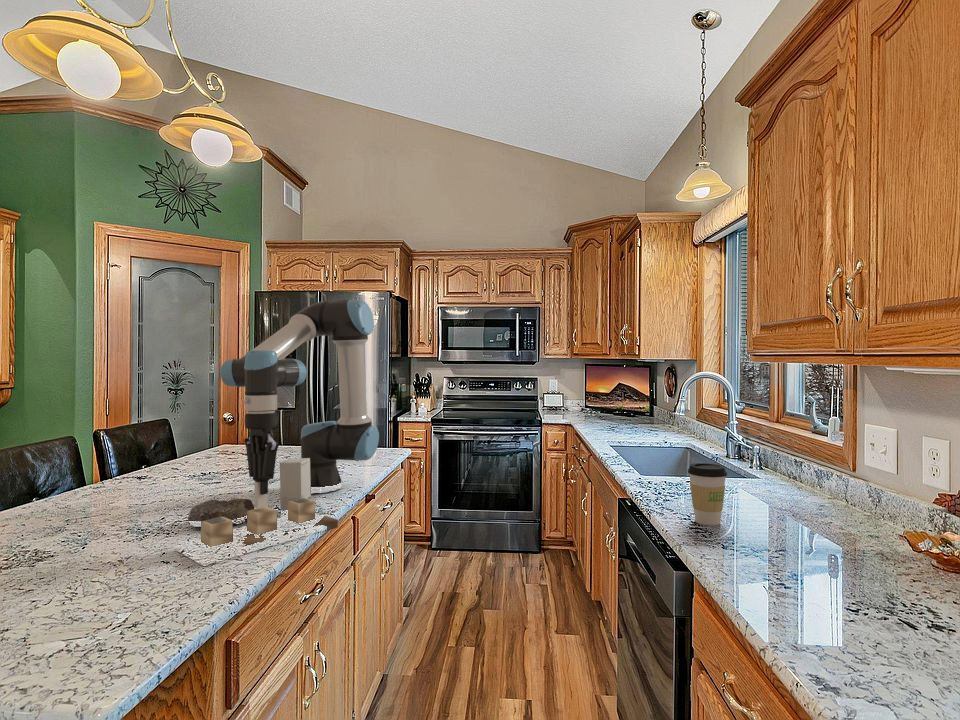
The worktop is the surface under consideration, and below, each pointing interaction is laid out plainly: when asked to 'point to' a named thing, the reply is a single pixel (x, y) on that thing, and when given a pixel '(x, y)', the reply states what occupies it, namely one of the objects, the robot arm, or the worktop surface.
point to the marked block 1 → (216, 531)
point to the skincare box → (294, 480)
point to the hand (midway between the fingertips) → (261, 506)
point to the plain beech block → (261, 520)
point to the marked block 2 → (301, 510)
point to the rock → (220, 509)
